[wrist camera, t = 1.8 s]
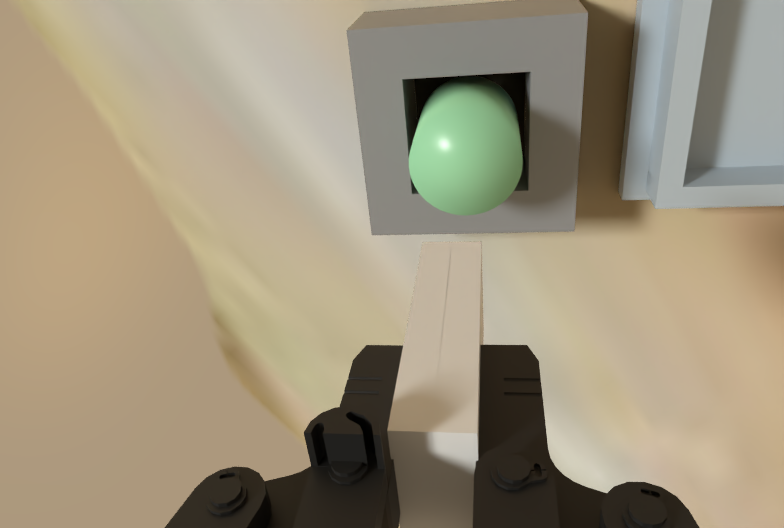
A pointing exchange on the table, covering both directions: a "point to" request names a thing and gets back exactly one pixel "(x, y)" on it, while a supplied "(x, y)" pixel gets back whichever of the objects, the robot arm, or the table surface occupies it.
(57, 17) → the table surface
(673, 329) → the table surface
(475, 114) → the button
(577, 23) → the grey square holder
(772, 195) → the grey tray
